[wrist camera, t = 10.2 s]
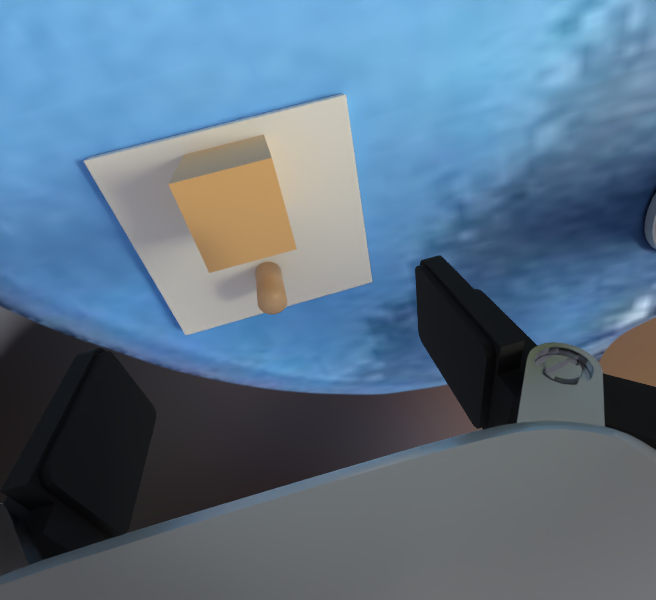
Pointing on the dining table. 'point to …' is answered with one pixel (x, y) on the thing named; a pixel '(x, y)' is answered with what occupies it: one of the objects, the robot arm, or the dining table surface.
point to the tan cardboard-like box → (233, 203)
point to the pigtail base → (300, 202)
